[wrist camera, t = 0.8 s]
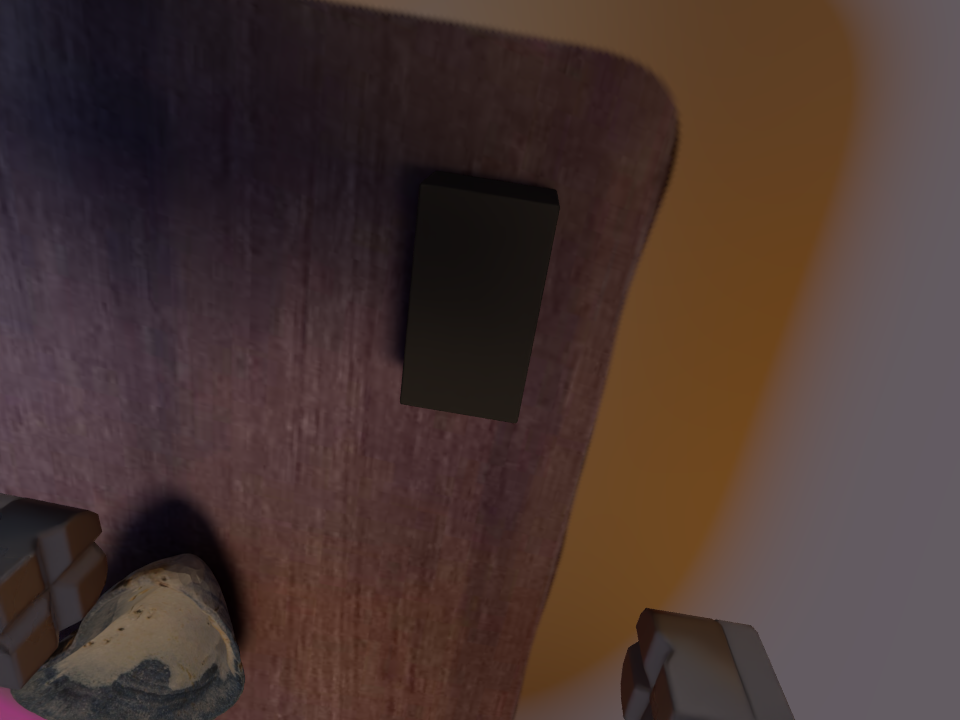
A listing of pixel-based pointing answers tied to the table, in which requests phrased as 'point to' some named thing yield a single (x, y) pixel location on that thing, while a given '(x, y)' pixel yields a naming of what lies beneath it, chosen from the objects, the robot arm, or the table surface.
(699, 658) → the robot arm
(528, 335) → the black pad
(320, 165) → the table surface
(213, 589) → the seashell
